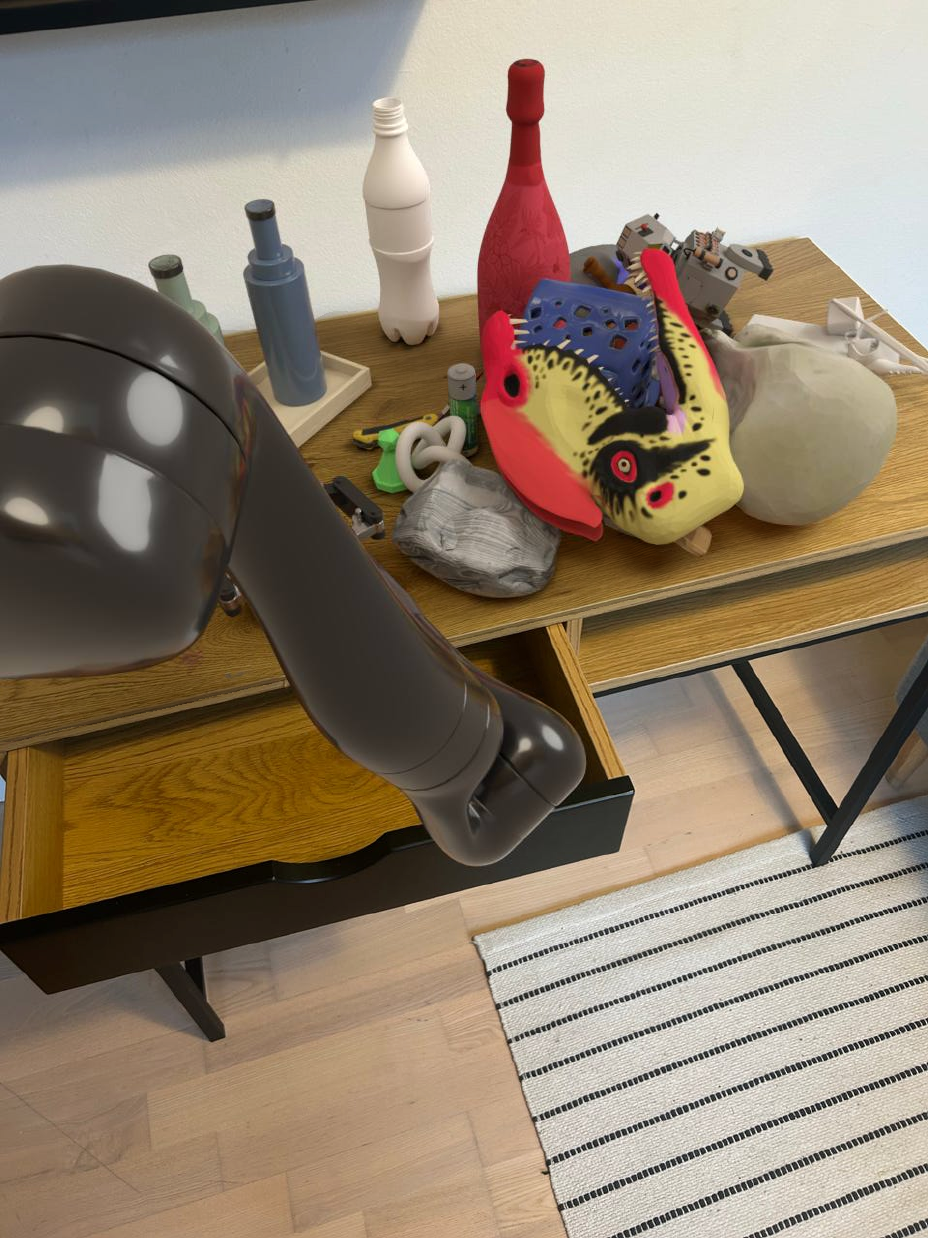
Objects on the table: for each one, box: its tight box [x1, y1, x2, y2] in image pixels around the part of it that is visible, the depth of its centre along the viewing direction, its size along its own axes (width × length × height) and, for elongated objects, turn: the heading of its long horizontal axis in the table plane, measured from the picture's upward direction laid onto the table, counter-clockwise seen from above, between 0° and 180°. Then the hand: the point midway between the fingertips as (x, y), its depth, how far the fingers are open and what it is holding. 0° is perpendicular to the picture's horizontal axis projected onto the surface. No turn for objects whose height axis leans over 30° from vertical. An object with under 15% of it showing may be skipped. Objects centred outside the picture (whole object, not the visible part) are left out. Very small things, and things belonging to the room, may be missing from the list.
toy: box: [480, 248, 744, 546], centre depth 73 cm, size 7×27×20 cm
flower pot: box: [517, 279, 660, 410], centre depth 84 cm, size 13×13×12 cm
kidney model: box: [569, 243, 647, 318], centre depth 103 cm, size 15×7×18 cm
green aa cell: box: [433, 369, 485, 426], centre depth 89 cm, size 8×1×5 cm
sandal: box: [596, 503, 713, 558], centre depth 77 cm, size 7×16×5 cm
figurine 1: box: [615, 212, 775, 337], centre depth 96 cm, size 9×12×15 cm
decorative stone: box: [390, 459, 562, 599], centre depth 76 cm, size 14×14×10 cm
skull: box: [651, 324, 899, 526], centre depth 76 cm, size 15×18×20 cm
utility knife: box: [352, 403, 481, 450], centre depth 90 cm, size 16×1×3 cm
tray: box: [247, 349, 373, 449], centre depth 88 cm, size 35×11×2 cm, turn 147°
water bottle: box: [362, 97, 440, 346], centre depth 93 cm, size 7×7×25 cm
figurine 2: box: [742, 296, 928, 381], centre depth 90 cm, size 12×8×25 cm
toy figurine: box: [583, 257, 638, 328], centre depth 97 cm, size 12×4×7 cm
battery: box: [447, 363, 479, 458], centre depth 84 cm, size 3×3×10 cm
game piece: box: [371, 428, 417, 494], centre depth 83 cm, size 4×4×6 cm
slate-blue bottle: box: [242, 198, 327, 407], centre depth 87 cm, size 6×6×20 cm
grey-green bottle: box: [147, 254, 227, 348], centre depth 81 cm, size 6×6×20 cm
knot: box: [395, 416, 474, 494], centre depth 82 cm, size 8×8×6 cm
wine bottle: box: [476, 58, 570, 360], centre depth 87 cm, size 10×10×30 cm
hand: (244, 491), depth 69 cm, fingers open, 7 cm apart
